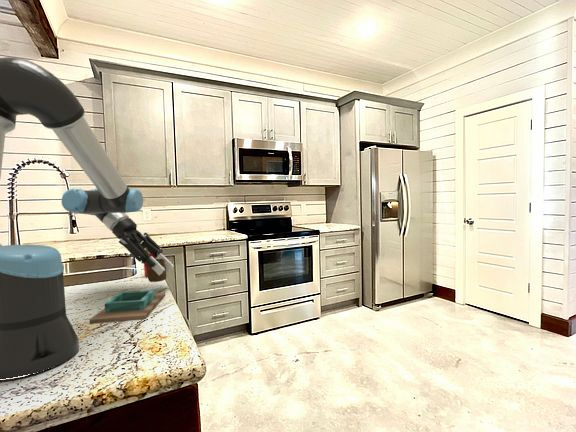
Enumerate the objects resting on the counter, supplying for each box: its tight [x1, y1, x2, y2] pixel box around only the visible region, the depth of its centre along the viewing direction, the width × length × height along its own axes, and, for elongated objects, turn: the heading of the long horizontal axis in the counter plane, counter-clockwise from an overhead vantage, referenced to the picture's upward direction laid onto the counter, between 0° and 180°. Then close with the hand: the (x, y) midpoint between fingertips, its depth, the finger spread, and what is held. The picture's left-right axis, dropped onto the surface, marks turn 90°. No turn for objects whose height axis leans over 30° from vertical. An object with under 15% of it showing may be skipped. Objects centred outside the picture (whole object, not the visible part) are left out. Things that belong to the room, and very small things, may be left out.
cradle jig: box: [89, 289, 166, 324], centre depth 92 cm, size 20×14×4 cm
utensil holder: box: [145, 247, 167, 283], centre depth 107 cm, size 6×6×12 cm
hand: (166, 270), depth 107 cm, fingers closed on utensil holder, 5 cm apart
